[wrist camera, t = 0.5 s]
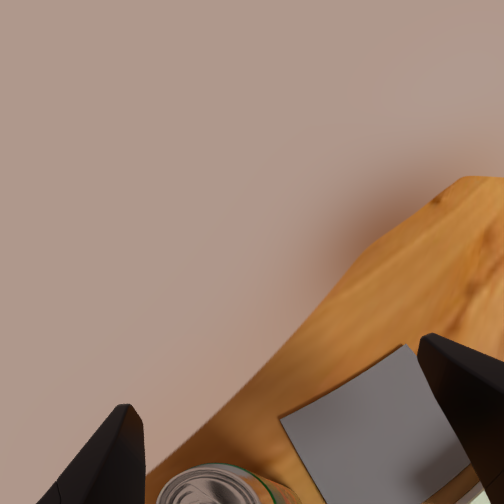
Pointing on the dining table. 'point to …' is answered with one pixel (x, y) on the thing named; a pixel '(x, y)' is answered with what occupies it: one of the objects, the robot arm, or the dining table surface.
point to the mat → (378, 437)
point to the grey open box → (470, 494)
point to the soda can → (224, 487)
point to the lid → (480, 498)
